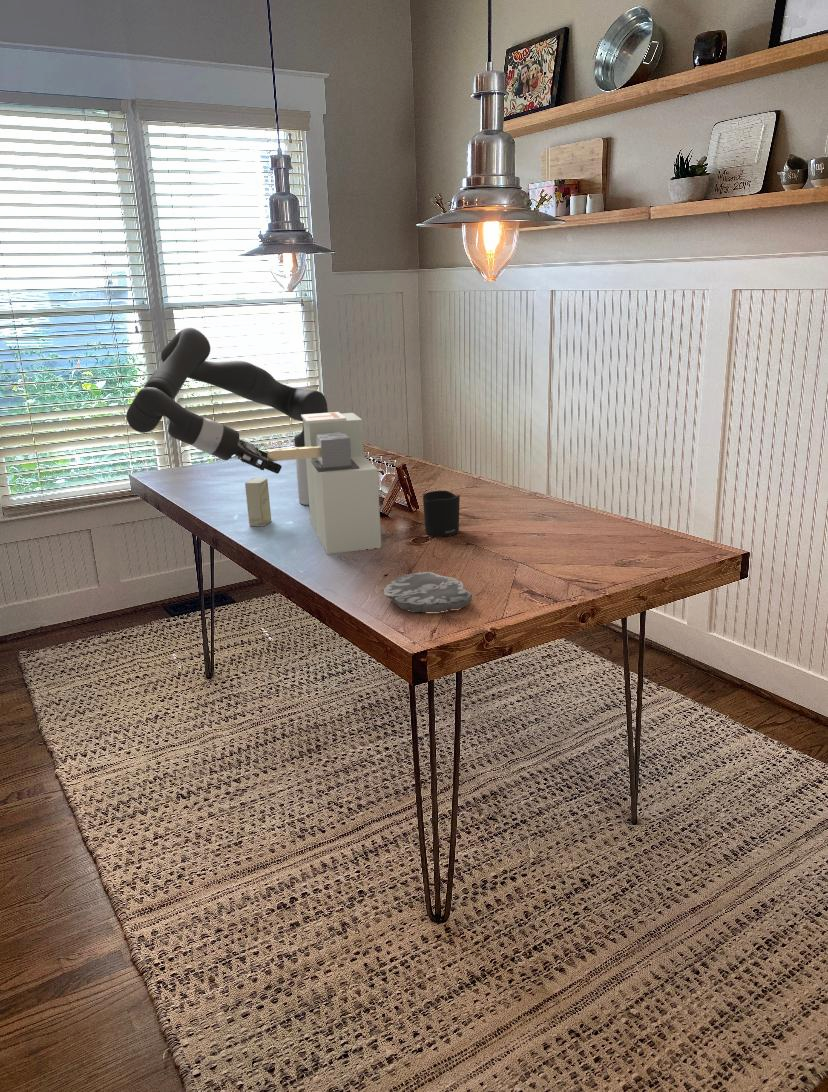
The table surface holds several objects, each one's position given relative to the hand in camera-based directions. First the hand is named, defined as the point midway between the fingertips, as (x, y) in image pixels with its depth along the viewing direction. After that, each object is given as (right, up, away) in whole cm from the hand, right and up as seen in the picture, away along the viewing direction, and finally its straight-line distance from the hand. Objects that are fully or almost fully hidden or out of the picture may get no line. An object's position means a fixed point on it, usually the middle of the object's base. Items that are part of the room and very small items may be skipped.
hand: (275, 464), depth 207 cm
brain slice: (+36, -32, -31) cm, 57 cm away
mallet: (+8, 0, +1) cm, 8 cm away
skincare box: (-9, -14, +28) cm, 32 cm away
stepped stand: (+15, -17, +15) cm, 27 cm away
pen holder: (+41, -16, +14) cm, 46 cm away
